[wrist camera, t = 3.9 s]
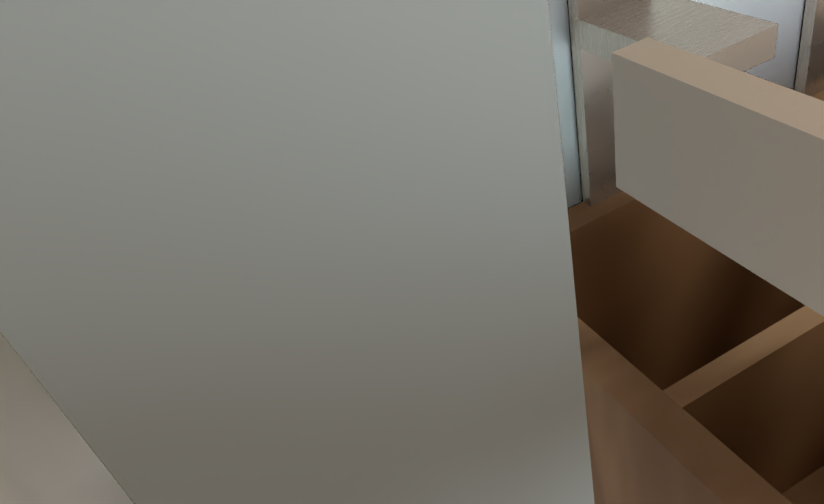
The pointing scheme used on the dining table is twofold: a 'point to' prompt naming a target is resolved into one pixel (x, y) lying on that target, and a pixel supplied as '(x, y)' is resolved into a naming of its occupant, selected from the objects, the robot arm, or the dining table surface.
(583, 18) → the hinge clips
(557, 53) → the dining table surface
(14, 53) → the door
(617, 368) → the cabinet
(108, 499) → the dining table surface
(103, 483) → the dining table surface
